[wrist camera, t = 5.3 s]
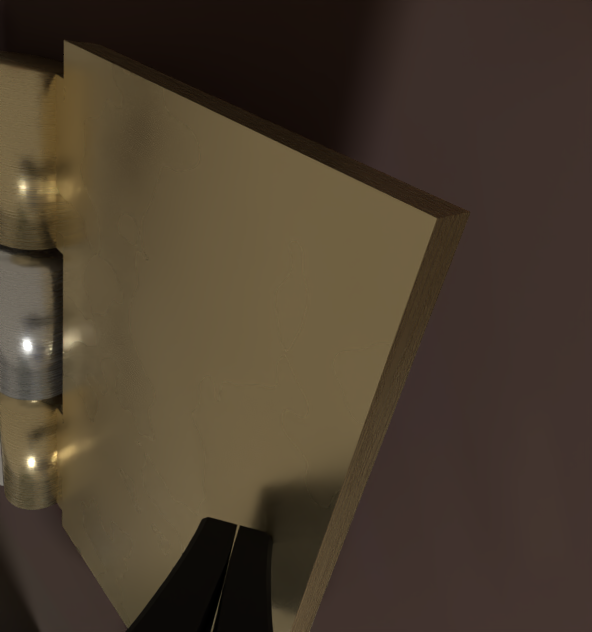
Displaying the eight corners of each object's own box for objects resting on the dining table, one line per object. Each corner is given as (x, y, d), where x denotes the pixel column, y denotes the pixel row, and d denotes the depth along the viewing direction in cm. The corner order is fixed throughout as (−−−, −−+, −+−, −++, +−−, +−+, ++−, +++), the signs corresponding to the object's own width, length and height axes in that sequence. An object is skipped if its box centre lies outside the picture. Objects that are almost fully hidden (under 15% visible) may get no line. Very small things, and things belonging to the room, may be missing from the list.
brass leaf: (55, 469, 22) (-4, 492, 21) (53, 22, 14) (-43, 9, 13) (259, 767, 15) (190, 835, 14) (474, 211, 7) (369, 230, 6)
